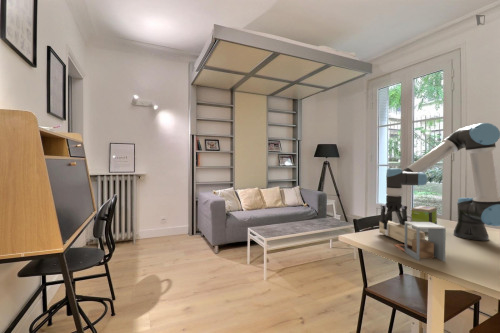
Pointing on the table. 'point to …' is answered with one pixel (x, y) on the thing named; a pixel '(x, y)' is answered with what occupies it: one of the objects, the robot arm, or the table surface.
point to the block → (424, 248)
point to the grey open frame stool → (434, 235)
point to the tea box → (424, 215)
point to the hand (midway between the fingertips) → (393, 235)
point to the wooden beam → (401, 232)
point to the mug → (395, 218)
